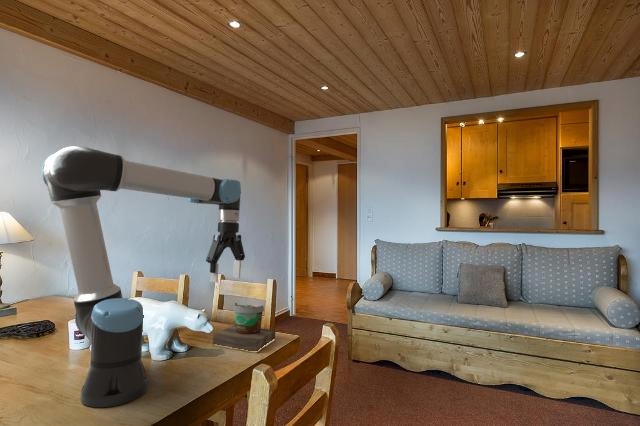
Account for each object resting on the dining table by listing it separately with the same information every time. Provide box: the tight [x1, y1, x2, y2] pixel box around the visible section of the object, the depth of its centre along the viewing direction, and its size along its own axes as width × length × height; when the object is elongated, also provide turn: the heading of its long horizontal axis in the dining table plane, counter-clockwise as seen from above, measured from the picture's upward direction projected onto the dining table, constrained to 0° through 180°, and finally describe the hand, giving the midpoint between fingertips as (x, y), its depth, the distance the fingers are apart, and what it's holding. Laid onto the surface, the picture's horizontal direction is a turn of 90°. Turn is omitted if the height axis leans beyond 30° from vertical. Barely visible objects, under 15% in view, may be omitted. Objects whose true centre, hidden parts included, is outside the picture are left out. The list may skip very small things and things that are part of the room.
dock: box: [212, 324, 277, 351], centre depth 133 cm, size 14×18×4 cm
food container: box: [232, 302, 265, 335], centre depth 133 cm, size 12×6×10 cm, turn 73°
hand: (225, 279), depth 131 cm, fingers open, 13 cm apart
